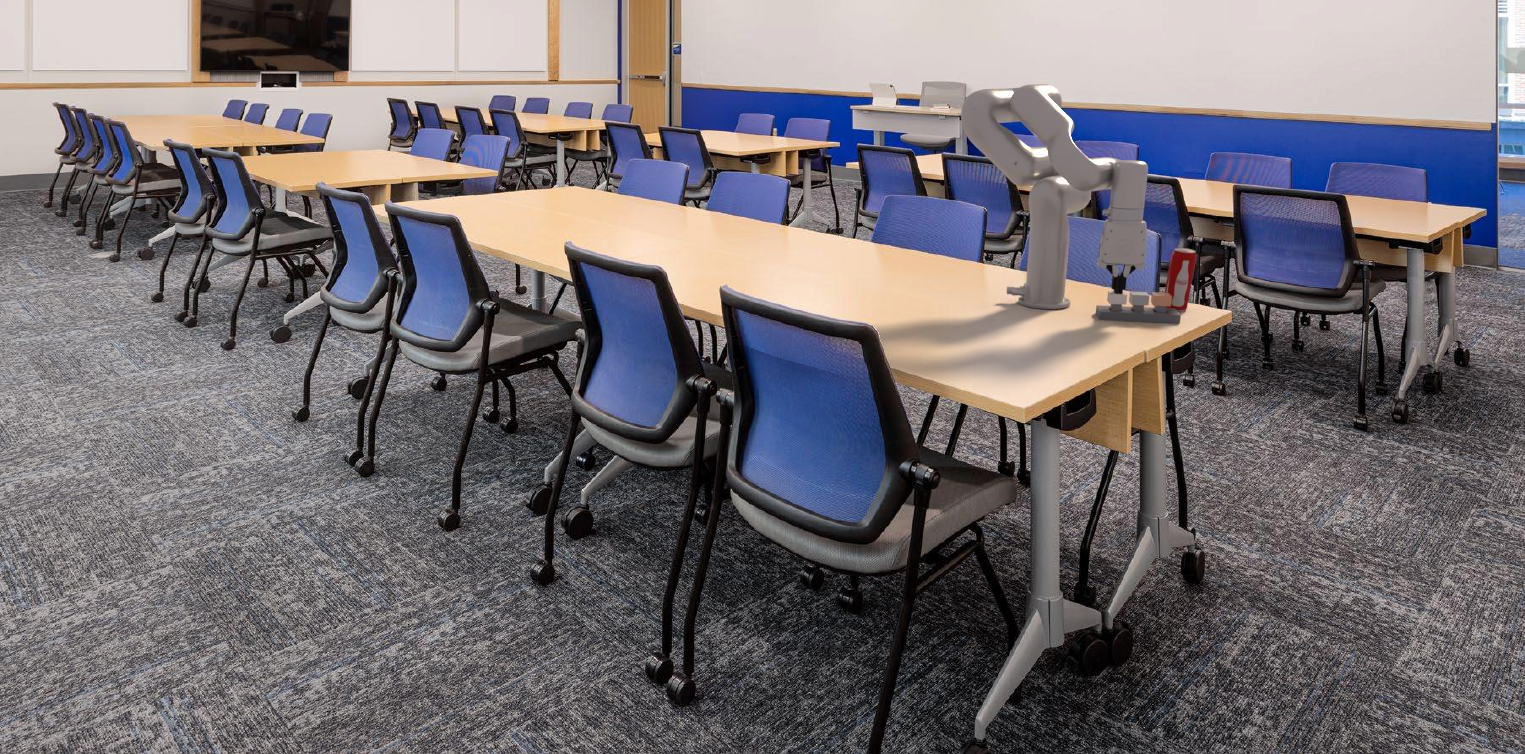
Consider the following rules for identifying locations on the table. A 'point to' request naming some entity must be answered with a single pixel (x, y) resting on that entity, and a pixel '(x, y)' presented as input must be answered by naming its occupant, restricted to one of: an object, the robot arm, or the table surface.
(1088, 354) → the table surface
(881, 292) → the table surface
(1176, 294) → the beverage can
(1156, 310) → the key terracotta
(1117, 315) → the grey key base
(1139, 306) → the key grey
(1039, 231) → the robot arm
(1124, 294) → the key white
